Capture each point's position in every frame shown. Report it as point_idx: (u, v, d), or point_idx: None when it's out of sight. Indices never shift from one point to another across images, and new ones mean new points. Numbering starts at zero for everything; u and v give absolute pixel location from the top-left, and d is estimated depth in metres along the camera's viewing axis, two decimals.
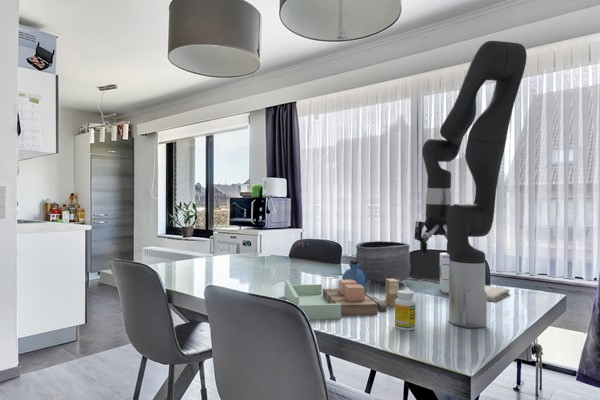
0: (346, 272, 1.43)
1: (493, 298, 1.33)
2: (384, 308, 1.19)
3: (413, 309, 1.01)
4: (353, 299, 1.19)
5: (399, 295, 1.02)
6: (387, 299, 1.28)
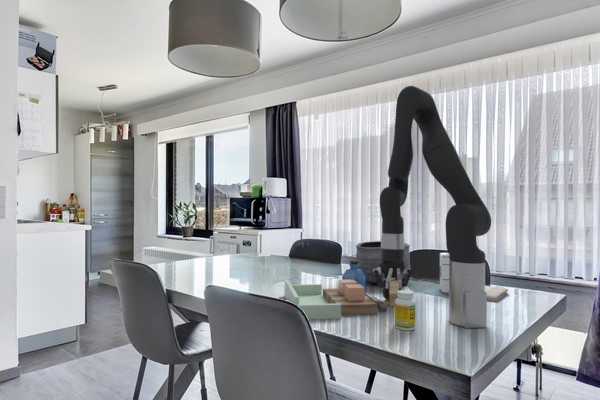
0: (346, 272, 1.43)
1: (495, 298, 1.33)
2: (384, 308, 1.19)
3: (413, 309, 1.01)
4: (353, 299, 1.19)
5: (399, 295, 1.02)
6: None
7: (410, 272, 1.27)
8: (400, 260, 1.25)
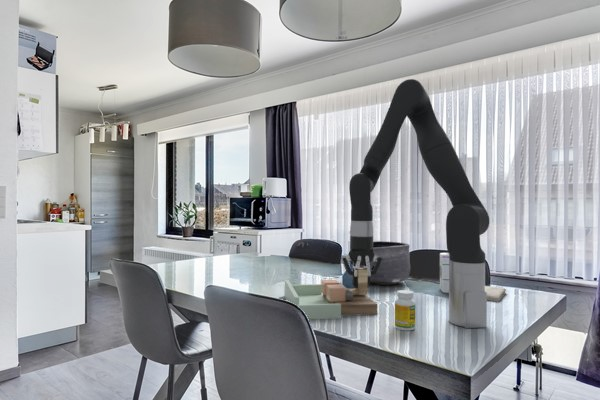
0: (346, 272, 1.43)
1: (497, 298, 1.33)
2: (351, 297, 1.18)
3: (413, 309, 1.01)
4: (334, 300, 1.18)
5: (399, 295, 1.02)
6: (356, 288, 1.26)
7: (379, 260, 1.26)
8: (368, 247, 1.23)
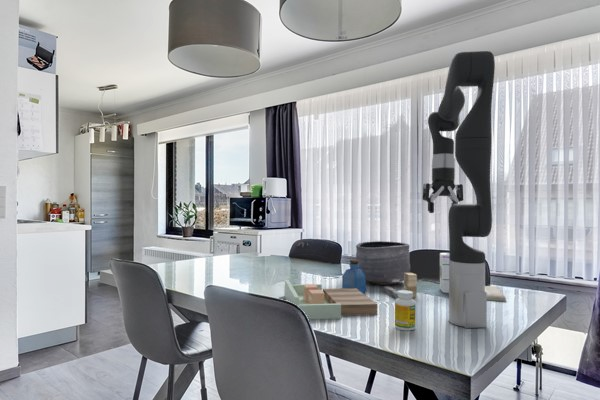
0: (346, 272, 1.43)
1: (504, 298, 1.33)
2: None
3: (413, 309, 1.01)
4: None
5: (399, 295, 1.02)
6: None
7: (461, 186, 1.37)
8: (451, 178, 1.34)
